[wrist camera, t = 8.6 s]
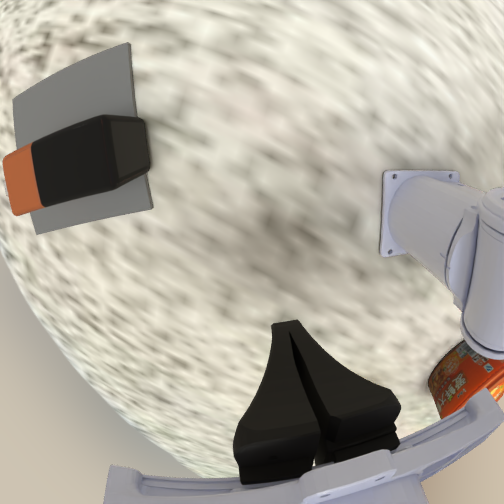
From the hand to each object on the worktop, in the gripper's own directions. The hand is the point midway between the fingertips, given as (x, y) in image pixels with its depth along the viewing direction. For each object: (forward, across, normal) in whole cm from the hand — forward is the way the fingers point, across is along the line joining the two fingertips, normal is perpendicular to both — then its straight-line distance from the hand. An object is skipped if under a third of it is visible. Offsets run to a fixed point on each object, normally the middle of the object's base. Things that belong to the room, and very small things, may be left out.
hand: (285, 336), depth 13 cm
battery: (+7, +7, -10) cm, 14 cm away
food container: (+10, -32, +26) cm, 42 cm away
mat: (+11, +15, -12) cm, 22 cm away
